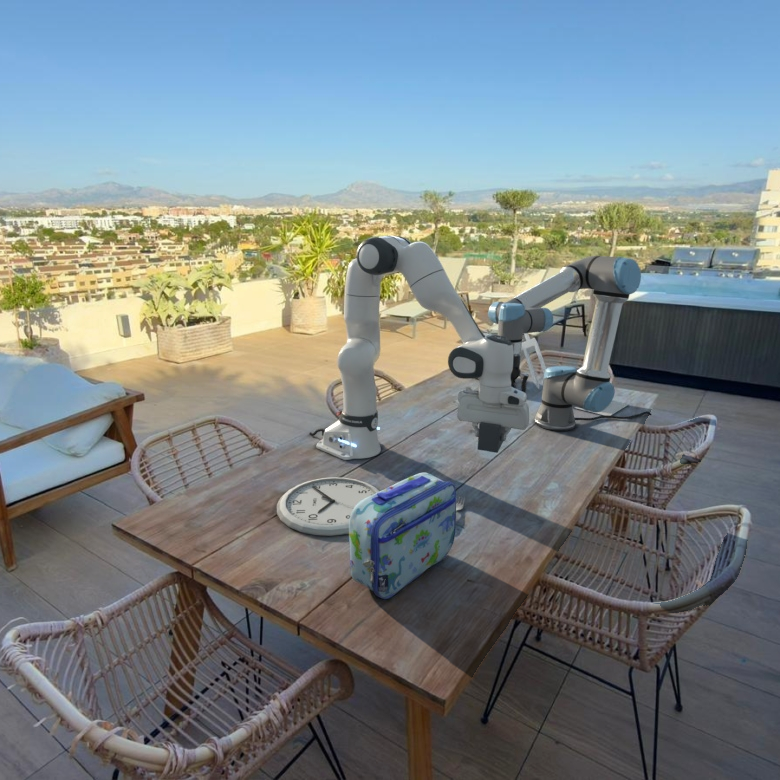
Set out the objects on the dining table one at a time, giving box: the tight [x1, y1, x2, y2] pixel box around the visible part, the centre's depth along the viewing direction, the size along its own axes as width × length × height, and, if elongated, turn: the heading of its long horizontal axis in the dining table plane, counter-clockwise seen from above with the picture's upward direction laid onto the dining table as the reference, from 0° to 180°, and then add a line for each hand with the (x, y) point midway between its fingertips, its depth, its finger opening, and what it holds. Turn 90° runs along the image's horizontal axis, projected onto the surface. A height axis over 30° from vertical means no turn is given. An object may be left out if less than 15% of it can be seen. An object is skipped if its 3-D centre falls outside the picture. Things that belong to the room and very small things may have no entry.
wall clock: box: [276, 476, 381, 537], centre depth 142 cm, size 30×2×30 cm
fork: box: [456, 494, 466, 512], centre depth 138 cm, size 3×16×2 cm, turn 160°
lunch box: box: [348, 471, 457, 600], centre depth 113 cm, size 26×11×21 cm, turn 134°
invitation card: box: [573, 400, 629, 416], centre depth 226 cm, size 21×1×15 cm
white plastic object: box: [482, 332, 547, 390], centre depth 260 cm, size 37×45×31 cm
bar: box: [477, 422, 506, 454], centre depth 160 cm, size 26×6×8 cm, turn 158°
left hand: (490, 438), depth 152 cm, fingers closed on bar, 6 cm apart
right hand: (502, 423), depth 169 cm, fingers closed on bar, 6 cm apart
